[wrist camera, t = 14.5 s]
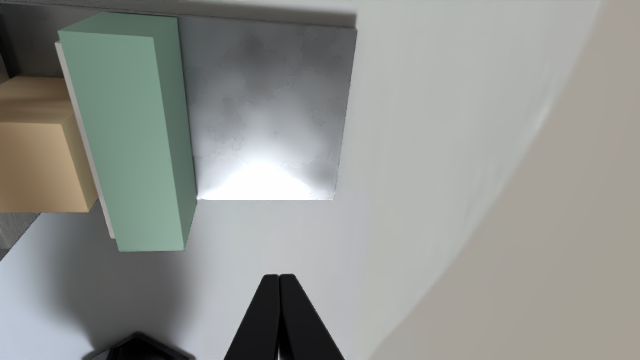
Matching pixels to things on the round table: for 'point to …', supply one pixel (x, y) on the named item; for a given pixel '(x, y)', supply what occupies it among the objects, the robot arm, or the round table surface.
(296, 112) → the grey angle bracket
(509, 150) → the round table surface
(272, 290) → the robot arm
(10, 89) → the tan wooden block
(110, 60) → the block
